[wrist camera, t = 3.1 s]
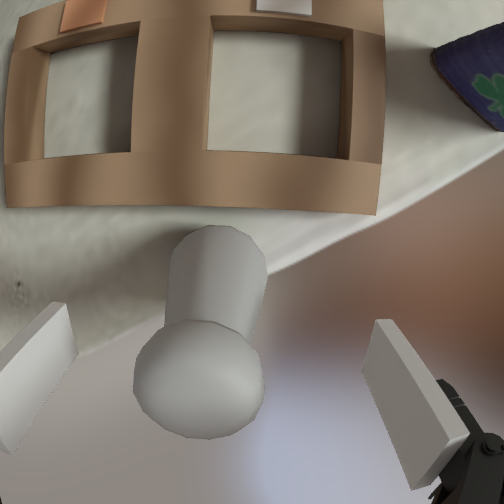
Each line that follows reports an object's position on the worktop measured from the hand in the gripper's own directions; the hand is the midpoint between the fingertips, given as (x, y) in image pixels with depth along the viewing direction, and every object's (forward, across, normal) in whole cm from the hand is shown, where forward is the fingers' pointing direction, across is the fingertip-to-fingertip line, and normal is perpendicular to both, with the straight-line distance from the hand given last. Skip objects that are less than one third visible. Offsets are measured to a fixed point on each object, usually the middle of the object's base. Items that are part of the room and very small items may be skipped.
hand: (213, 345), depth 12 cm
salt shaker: (+9, 0, 0) cm, 9 cm away
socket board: (+9, -4, +11) cm, 15 cm away
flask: (+9, +18, +14) cm, 24 cm away
